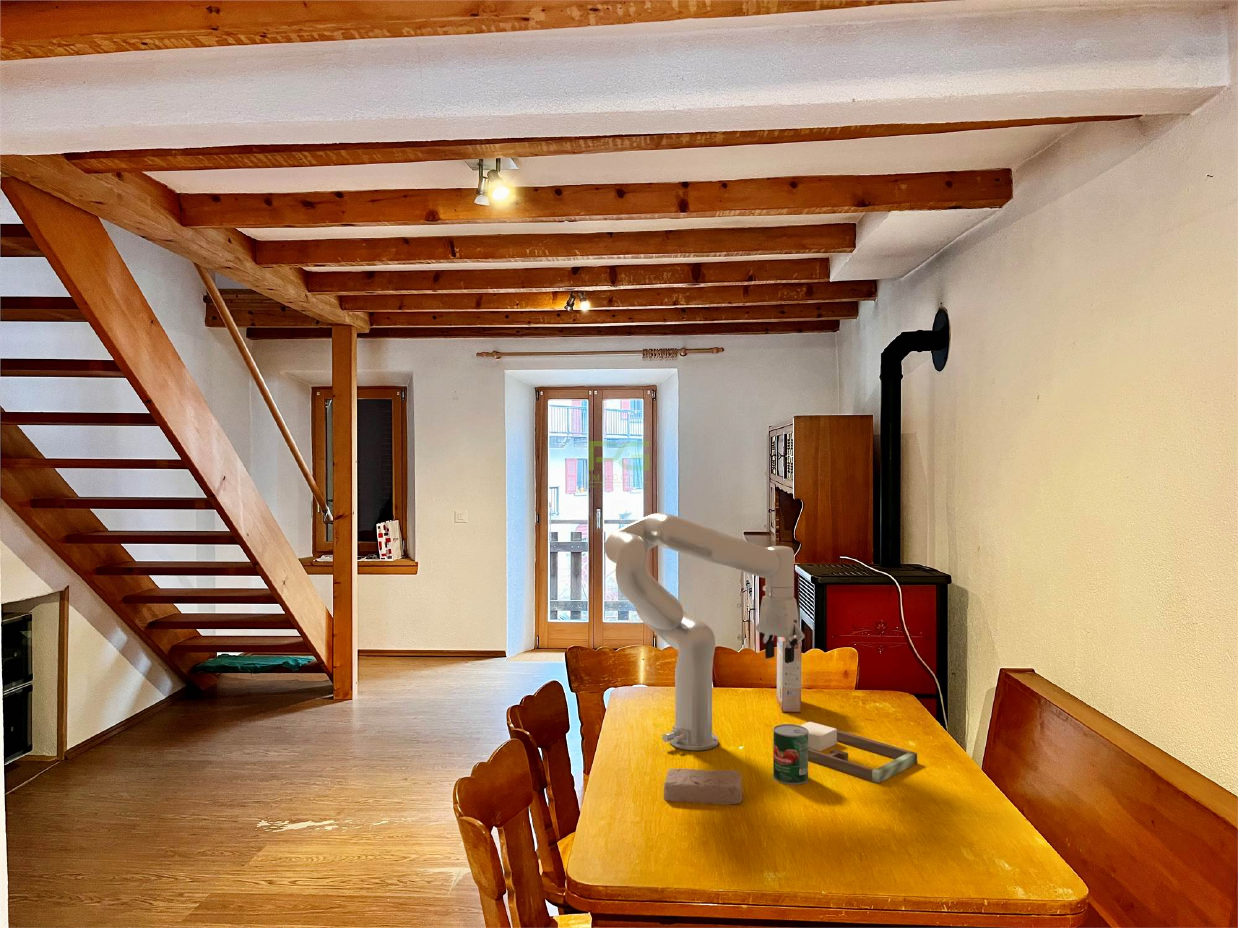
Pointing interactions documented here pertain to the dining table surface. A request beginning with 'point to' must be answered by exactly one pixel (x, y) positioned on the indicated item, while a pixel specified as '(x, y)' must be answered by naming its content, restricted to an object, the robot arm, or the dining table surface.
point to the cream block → (820, 736)
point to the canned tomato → (790, 754)
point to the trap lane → (878, 775)
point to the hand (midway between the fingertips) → (779, 659)
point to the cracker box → (789, 677)
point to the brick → (703, 786)
